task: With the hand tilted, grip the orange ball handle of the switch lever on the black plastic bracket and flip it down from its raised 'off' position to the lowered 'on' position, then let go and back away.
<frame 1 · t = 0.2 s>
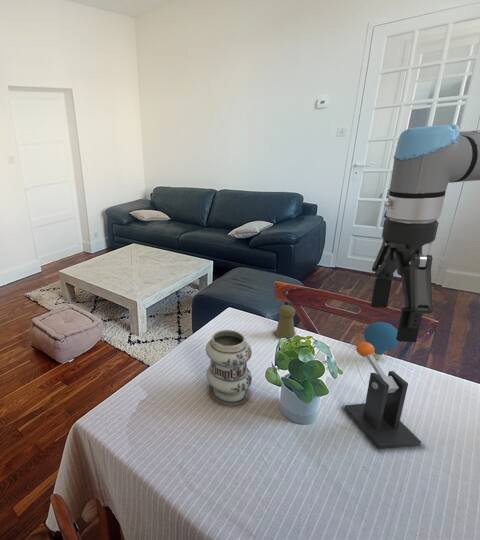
hand: (391, 322, 68), 29 cm above the table, tool pointing down, fingers open, 13 cm apart
cork: (285, 335, 118), on the table
apothecary jar: (228, 392, 95), on the table
switch bracket: (379, 425, 79), on the table
switch lever: (375, 365, 78), point 14 cm above the table, hinge at 25.0°
light bulb: (377, 359, 101), on the table
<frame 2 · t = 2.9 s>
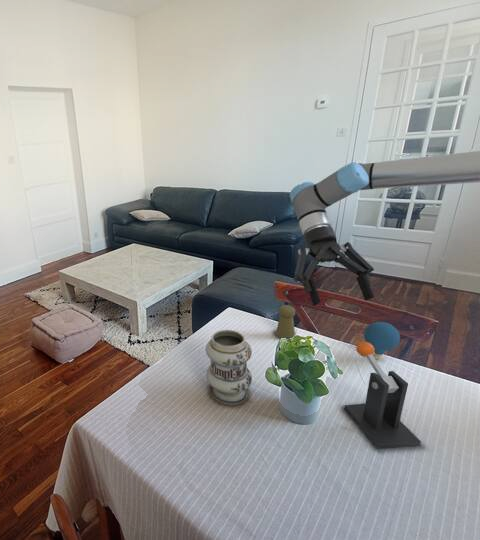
hand: (343, 301, 88), 24 cm above the table, tool tilted 45°, fingers open, 13 cm apart
nothing on the table moved.
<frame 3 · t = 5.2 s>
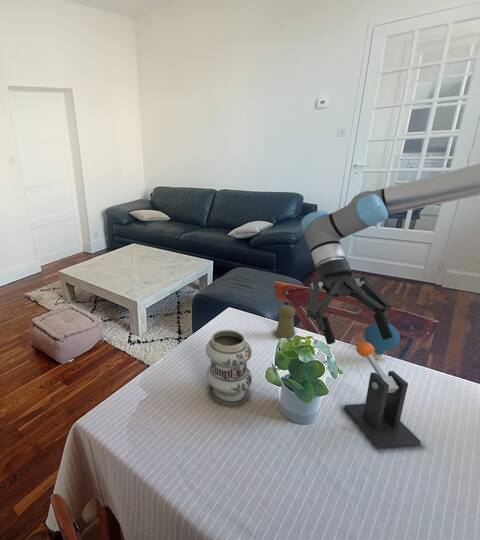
hand: (359, 341, 83), 17 cm above the table, tool tilted 45°, fingers open, 13 cm apart
nothing on the table moved.
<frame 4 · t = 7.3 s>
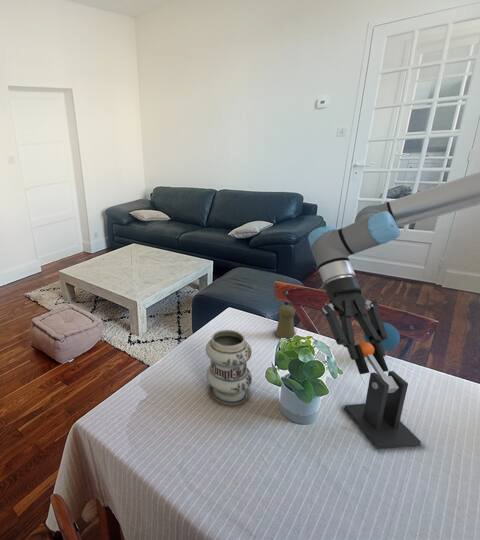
hand: (374, 372, 79), 12 cm above the table, tool tilted 45°, fingers closed on switch lever, 4 cm apart
switch lever: (375, 365, 78), point 14 cm above the table, hinge at 25.0°, touching gripper
everything else where it was.
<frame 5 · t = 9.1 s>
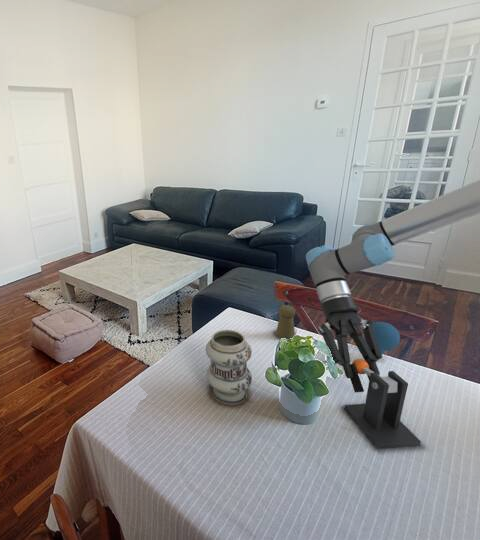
hand: (368, 391, 82), 6 cm above the table, tool tilted 45°, fingers closed on switch lever, 4 cm apart
switch lever: (372, 374, 80), point 11 cm above the table, hinge at -11.3°, touching gripper
everything else where it was.
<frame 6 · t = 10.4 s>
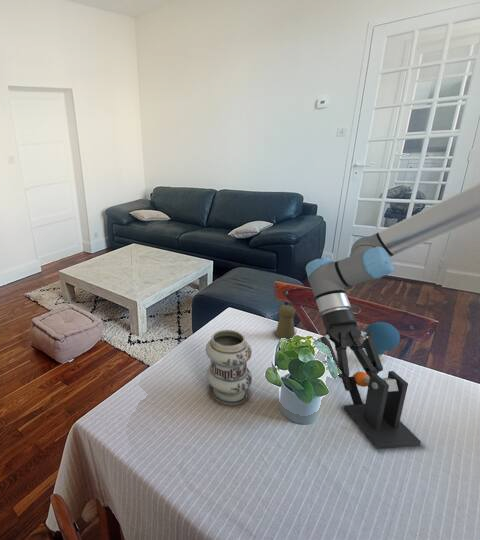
hand: (368, 403, 82), 3 cm above the table, tool tilted 45°, fingers open, 4 cm apart
switch lever: (373, 381, 80), point 10 cm above the table, hinge at -31.1°
everything else where it was.
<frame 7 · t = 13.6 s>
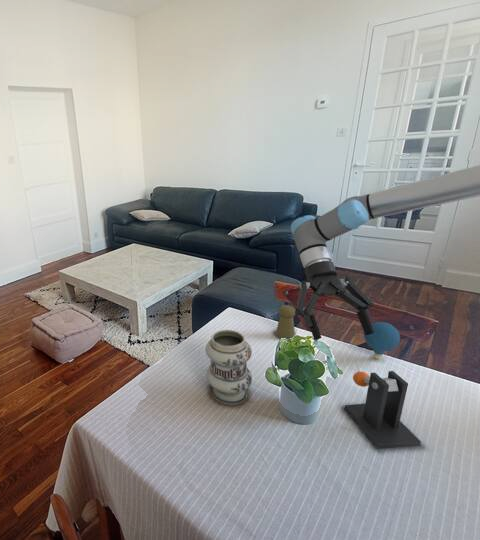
hand: (343, 336, 90), 14 cm above the table, tool tilted 45°, fingers open, 13 cm apart
nothing on the table moved.
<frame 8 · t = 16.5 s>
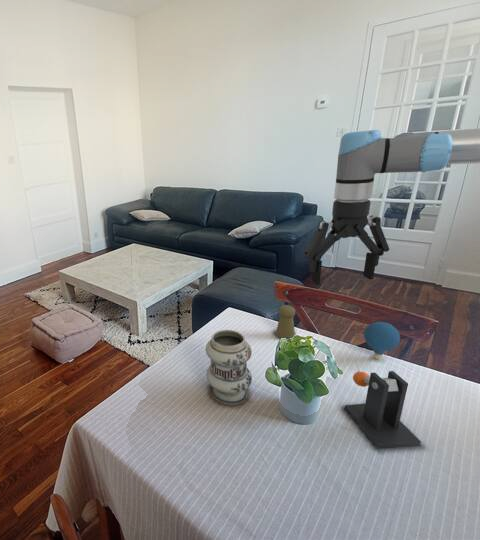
hand: (341, 280, 89), 29 cm above the table, tool pointing down, fingers open, 13 cm apart
nothing on the table moved.
at the end: switch lever at -31° (first picture: +25°); the gripper is holding nothing; light bulb moved 0.2 cm from its start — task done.
